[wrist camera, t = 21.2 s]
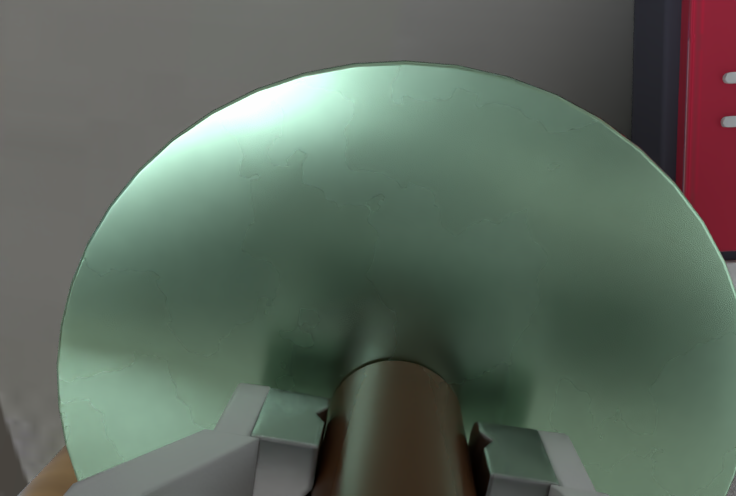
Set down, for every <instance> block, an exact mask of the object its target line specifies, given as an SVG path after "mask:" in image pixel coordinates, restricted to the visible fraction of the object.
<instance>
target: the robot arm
mask: <svg viewBox="0 0 736 496" xmlns="http://www.w3.org/2000/svg"><path fill="white" fill-rule="evenodd" d="M329 402H330V398H327V397H321V396H316V395H310V394H305V393H299V392H293V391H288V390H282V389H277V388H270V387H269V386H262V385H254V384H246V383H240V384H239V385H238V386H237V388H236V389H235V391H234V393H233V395H232V397H231V399H230V401H229V402H228V404H227V406H226V408H225V410H224V412H223V414H222V415H221V417H220V419H219V421H218V423H217V425H216V427H215V428H214V430H207V429H204V430H202V431H199V432H197V433H194V434H192V435H189V436H187V437H185V438H182V439H180V440H177V441H175V442H173V443H170V444H168V445H165V446H163V447H160V448H158V449H156V450H153V451H151V452H148V453H146V454H144V455H141V456H139V457H136V458H134V459H132V460H129V461H127V462H124V463H122V464H119V465H117V466H115V467H112V468H110V469H107V470H105V471H103V472H100V473H98V474H95V475H93V476H90V477H88V478H86V479H83V480H81V481H78V482H76V483H74V484H72V486H71V487H70V488H69V489H68V490H67V492H66V493H65V494H64V495H63V496H310V495H311V490H312V489H313V485H314V481H315V476H316V472H317V467H318V463H319V456H320V449H321V446H322V444H323V439H324V434H325V429H326V424H327V417H328V409H329ZM468 449H469V454H470V459H471V464H472V469H473V475H474V480H475V485H476V490H477V496H609V495H608V494H606V493H601V492H596V490H595V488H594V486H593V484H592V482H591V480H590V478H589V476H588V474H587V472H586V470H585V468H584V466H583V464H582V462H581V460H580V458H579V456H578V454H577V452H576V450H575V448H574V446H573V444H572V442H571V440H570V438H569V436H568V435H566V434H564V433H556V432H547V431H538V430H536V429H529V428H521V427H514V426H507V425H499V424H492V423H484V422H475V423H474V424H473V427H472V430H471V433H470V438H469V442H468Z"/></svg>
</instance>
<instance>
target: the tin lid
mask: <svg viewBox="0 0 736 496" xmlns="http://www.w3.org/2000/svg"><path fill="white" fill-rule="evenodd" d="M240 383H246V384H254V385H262V386H269V387H270V388H277V389H282V390H288V391H293V392H299V393H305V394H310V395H316V396H321V397H327V398H330V402H329V409H328V417H327V424H326V429H325V434H324V439H323V444H322V446H321V449H320V456H319V463H318V467H317V472H316V476H315V481H314V485H313V489H312V490H311V495H310V496H477V490H476V485H475V480H474V475H473V469H472V464H471V459H470V454H469V449H468V442H469V438H470V433H471V430H472V427H473V424H474V423H475V422H484V423H492V424H499V425H507V426H514V427H521V428H529V429H536V430H538V431H547V432H556V433H564V434H566V435H568V436H569V438H570V440H571V442H572V444H573V446H574V448H575V450H576V452H577V454H578V456H579V458H580V460H581V462H582V464H583V466H584V468H585V470H586V472H587V474H588V476H589V478H590V480H591V482H592V484H593V486H594V488H595V490H596V492H601V493H606V494H608V495H609V496H726V495H727V493H728V491H729V488H730V486H731V483H732V481H733V479H734V476H735V474H736V290H735V287H734V284H733V282H732V279H731V276H730V273H729V270H728V267H727V265H726V262H725V260H724V258H723V256H722V254H721V252H720V250H719V249H718V247H717V245H716V243H715V241H714V239H713V237H712V236H711V234H710V232H709V230H708V228H707V226H706V224H705V222H704V221H703V219H702V218H701V217H700V215H699V214H698V213H697V211H696V210H695V209H694V207H693V206H692V204H691V203H690V202H689V200H688V199H687V198H686V196H685V195H684V194H683V192H682V191H681V190H680V188H679V187H678V186H677V184H676V183H675V182H674V181H673V180H672V179H671V178H670V177H669V176H668V175H667V174H666V173H665V172H664V171H663V170H662V169H661V168H660V167H659V166H658V165H657V164H656V163H655V162H654V161H653V160H652V159H651V158H650V157H649V156H648V155H647V154H646V153H645V152H644V151H643V150H642V149H641V148H640V147H638V146H637V145H636V144H634V143H633V142H632V141H630V140H629V139H628V138H626V137H625V136H624V135H622V134H621V133H620V132H618V131H617V130H615V129H614V128H613V127H611V126H610V125H609V124H607V123H606V122H605V121H603V120H602V119H601V118H599V117H597V116H595V115H593V114H591V113H590V112H588V111H586V110H584V109H582V108H580V107H579V106H577V105H575V104H573V103H571V102H569V101H568V100H566V99H564V98H562V97H560V96H558V95H557V94H554V93H551V92H549V91H546V90H543V89H541V88H538V87H535V86H533V85H530V84H527V83H525V82H522V81H519V80H517V79H514V78H511V77H509V76H504V75H500V74H496V73H491V72H487V71H482V70H478V69H473V68H469V67H464V66H460V65H452V64H440V63H428V62H416V61H388V62H369V63H353V64H348V65H342V66H337V67H332V68H327V69H321V70H316V71H311V72H306V73H302V74H299V75H296V76H293V77H290V78H287V79H284V80H281V81H278V82H275V83H272V84H269V85H266V86H263V87H260V88H257V89H255V90H253V91H251V92H249V93H247V94H245V95H243V96H241V97H239V98H237V99H235V100H233V101H231V102H229V103H227V104H225V105H223V106H221V107H219V108H217V109H215V110H213V111H211V112H210V113H208V114H207V115H206V116H204V117H203V118H201V119H200V120H198V121H197V122H195V123H194V124H193V125H191V126H190V127H188V128H187V129H185V130H184V131H182V132H181V133H180V134H178V135H177V136H175V137H174V138H172V139H171V140H170V141H169V142H168V143H167V144H166V145H165V146H164V147H163V148H162V149H160V150H159V151H158V152H157V153H156V154H155V155H154V156H153V157H152V158H151V159H150V160H149V161H148V162H146V163H145V164H144V165H143V166H142V167H141V168H140V169H139V170H138V171H137V172H136V174H135V175H134V176H133V177H132V178H131V180H130V181H129V182H128V183H127V185H126V186H125V187H124V188H123V190H122V191H121V192H120V193H119V195H118V196H117V197H116V198H115V200H114V201H113V202H112V203H111V204H110V206H109V208H108V209H107V211H106V213H105V214H104V216H103V218H102V219H101V221H100V223H99V224H98V226H97V228H96V230H95V231H94V233H93V235H92V236H91V238H90V240H89V241H88V243H87V245H86V248H85V250H84V253H83V255H82V258H81V260H80V263H79V265H78V267H77V270H76V272H75V275H74V277H73V280H72V282H71V285H70V290H69V294H68V298H67V302H66V306H65V310H64V314H63V318H62V322H61V328H60V338H59V348H58V358H57V384H58V406H59V412H60V417H61V423H62V428H63V433H64V439H65V444H66V448H67V451H68V454H69V457H70V460H71V463H72V466H73V469H74V472H75V475H76V478H77V481H81V480H83V479H86V478H88V477H90V476H93V475H95V474H98V473H100V472H103V471H105V470H107V469H110V468H112V467H115V466H117V465H119V464H122V463H124V462H127V461H129V460H132V459H134V458H136V457H139V456H141V455H144V454H146V453H148V452H151V451H153V450H156V449H158V448H160V447H163V446H165V445H168V444H170V443H173V442H175V441H177V440H180V439H182V438H185V437H187V436H189V435H192V434H194V433H197V432H199V431H202V430H204V429H207V430H214V428H215V427H216V425H217V423H218V421H219V419H220V417H221V415H222V414H223V412H224V410H225V408H226V406H227V404H228V402H229V401H230V399H231V397H232V395H233V393H234V391H235V389H236V388H237V386H238V385H239V384H240Z"/></svg>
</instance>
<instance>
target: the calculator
mask: <svg viewBox="0 0 736 496" xmlns="http://www.w3.org/2000/svg"><path fill="white" fill-rule="evenodd" d="M632 142H633V143H634V144H636V145H637V146H638V147H640V148H641V149H642V150H643V151H644V152H645V153H646V154H647V155H648V156H649V157H650V158H651V159H652V160H653V161H654V162H655V163H656V164H657V165H658V166H659V167H660V168H661V169H662V170H663V171H664V172H665V173H666V174H667V175H668V176H669V177H670V178H671V179H672V180H673V181H674V182H675V183H676V184H677V186H678V187H679V188H680V190H681V191H682V192H683V194H684V195H685V196H686V198H687V199H688V200H689V202H690V203H691V204H692V206H693V207H694V209H695V210H696V211H697V213H698V214H699V215H700V217H701V218H702V219H703V221H704V222H705V224H706V226H707V228H708V230H709V232H710V234H711V236H712V237H713V239H714V241H715V243H716V245H717V247H718V249H719V250H720V252H721V254H722V256H723V258H724V260H725V262H726V265H727V267H728V270H729V273H730V276H731V279H732V282H733V284H734V287H735V290H736V0H635V3H634V49H633V96H632Z"/></svg>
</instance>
